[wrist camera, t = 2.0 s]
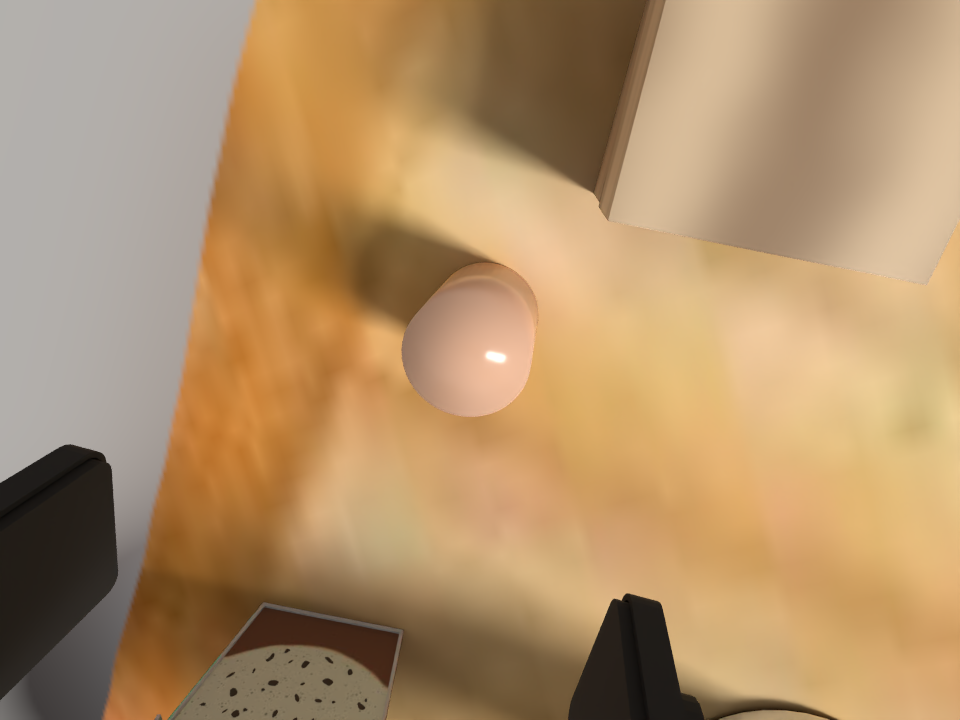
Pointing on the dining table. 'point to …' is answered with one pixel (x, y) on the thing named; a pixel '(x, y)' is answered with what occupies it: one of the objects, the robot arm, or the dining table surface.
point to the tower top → (796, 130)
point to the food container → (298, 670)
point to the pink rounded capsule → (473, 341)
